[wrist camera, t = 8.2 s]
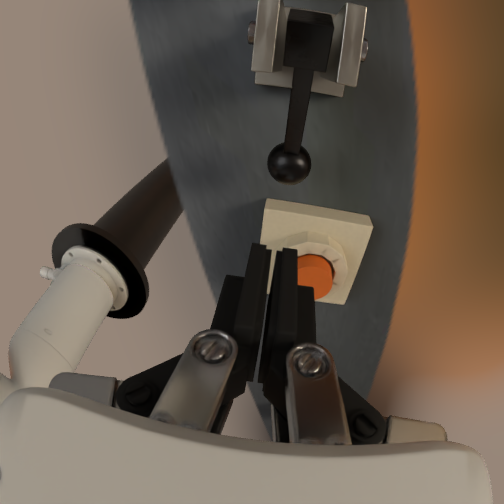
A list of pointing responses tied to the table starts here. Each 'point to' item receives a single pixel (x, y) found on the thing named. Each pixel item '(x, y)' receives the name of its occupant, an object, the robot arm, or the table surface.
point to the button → (315, 274)
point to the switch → (300, 89)
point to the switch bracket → (340, 58)
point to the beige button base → (318, 239)
